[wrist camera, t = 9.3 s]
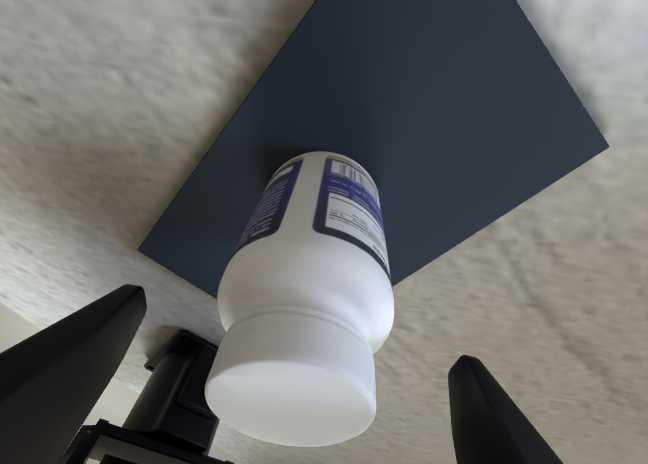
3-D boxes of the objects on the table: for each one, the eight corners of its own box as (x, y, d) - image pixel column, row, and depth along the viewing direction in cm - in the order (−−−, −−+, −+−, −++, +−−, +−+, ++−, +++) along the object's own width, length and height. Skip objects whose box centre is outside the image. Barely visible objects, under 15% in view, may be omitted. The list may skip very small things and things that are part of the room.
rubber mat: (298, 342, 22) (297, 348, 22) (141, 245, 18) (136, 250, 18) (602, 143, 13) (610, 147, 13) (418, -141, 9) (421, -148, 9)
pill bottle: (280, 249, 17) (213, 456, 9) (255, 154, 14) (124, 337, 6) (381, 244, 16) (406, 465, 8) (378, 142, 13) (412, 333, 5)
